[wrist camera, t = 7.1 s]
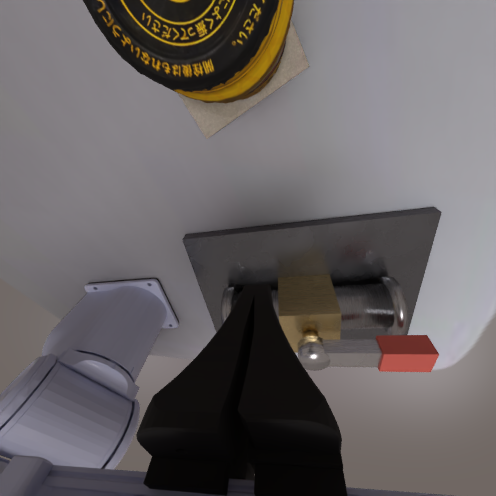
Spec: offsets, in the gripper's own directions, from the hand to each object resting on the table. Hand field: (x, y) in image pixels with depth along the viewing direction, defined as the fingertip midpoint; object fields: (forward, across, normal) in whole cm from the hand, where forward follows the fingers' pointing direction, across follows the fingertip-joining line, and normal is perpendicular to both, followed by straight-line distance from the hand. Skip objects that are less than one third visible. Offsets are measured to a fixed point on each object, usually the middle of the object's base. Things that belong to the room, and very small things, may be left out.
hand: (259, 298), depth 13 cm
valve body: (+10, -3, +9) cm, 14 cm away
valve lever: (+3, -7, +9) cm, 12 cm away
